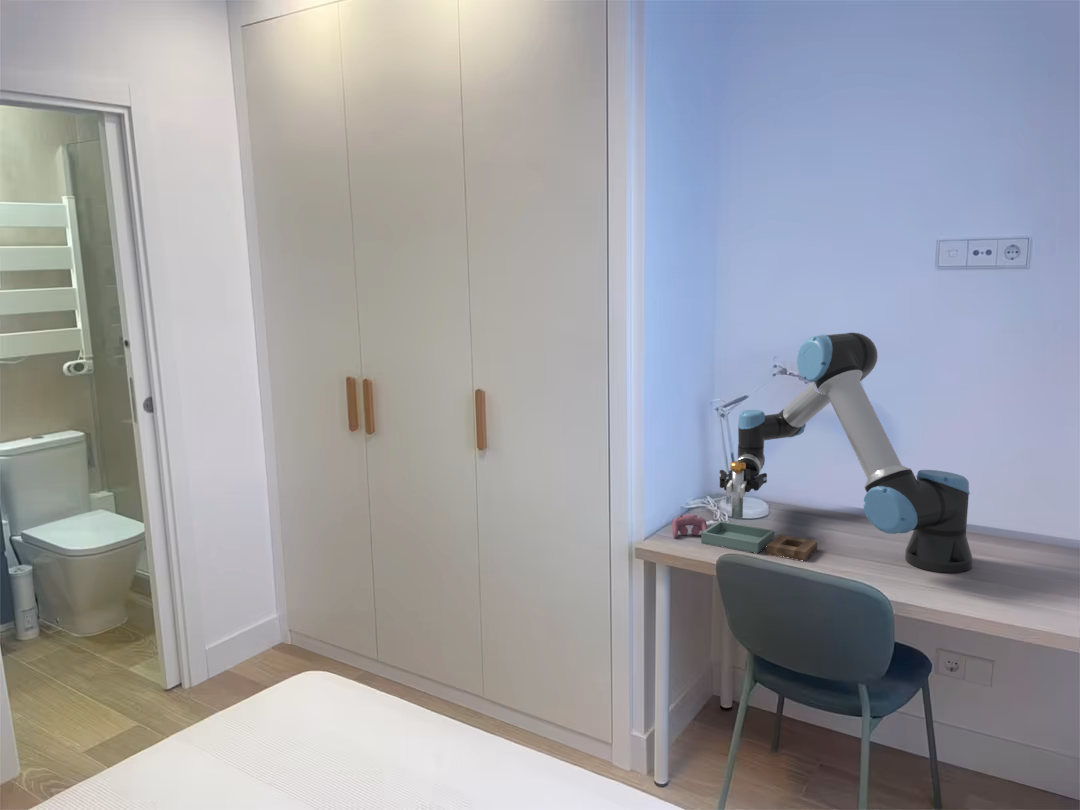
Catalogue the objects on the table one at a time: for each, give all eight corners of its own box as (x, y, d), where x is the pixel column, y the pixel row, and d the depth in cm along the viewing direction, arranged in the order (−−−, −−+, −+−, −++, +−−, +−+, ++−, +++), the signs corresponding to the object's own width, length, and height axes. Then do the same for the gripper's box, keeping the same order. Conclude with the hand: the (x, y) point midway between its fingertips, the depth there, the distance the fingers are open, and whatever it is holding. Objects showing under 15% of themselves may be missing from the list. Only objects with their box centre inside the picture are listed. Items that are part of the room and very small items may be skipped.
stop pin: (746, 515, 225) (748, 462, 222) (741, 519, 221) (742, 465, 219) (733, 513, 227) (734, 460, 224) (727, 517, 224) (728, 463, 221)
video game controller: (707, 540, 232) (705, 515, 234) (709, 538, 227) (707, 512, 229) (671, 540, 233) (670, 515, 235) (673, 538, 228) (672, 513, 230)
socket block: (817, 550, 217) (817, 541, 217) (804, 561, 209) (804, 552, 209) (780, 543, 223) (780, 534, 223) (766, 554, 215) (766, 545, 215)
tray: (774, 540, 225) (774, 530, 224) (757, 554, 215) (757, 543, 215) (719, 531, 234) (719, 520, 234) (701, 543, 225) (701, 532, 224)
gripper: (774, 484, 237) (765, 508, 215) (718, 480, 243) (704, 503, 221) (775, 459, 236) (766, 480, 214) (718, 455, 241) (704, 476, 220)
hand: (734, 492), depth 218 cm, fingers closed on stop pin, 3 cm apart
